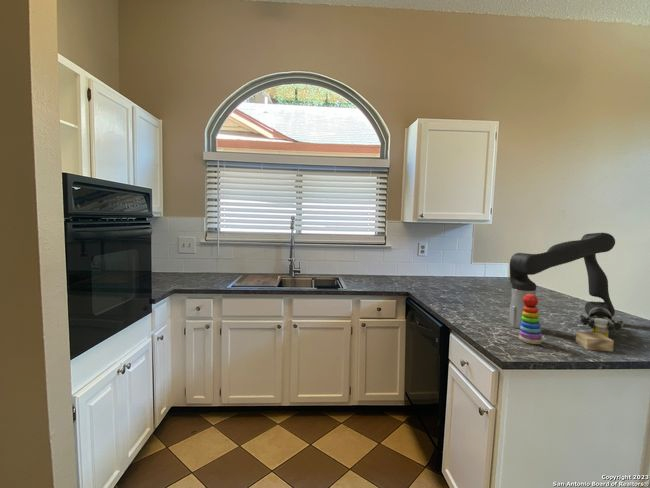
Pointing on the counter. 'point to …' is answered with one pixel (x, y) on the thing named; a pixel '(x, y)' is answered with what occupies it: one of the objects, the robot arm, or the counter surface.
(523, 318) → the stacking toy
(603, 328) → the supplement bottle
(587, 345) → the oak block
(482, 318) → the counter surface
